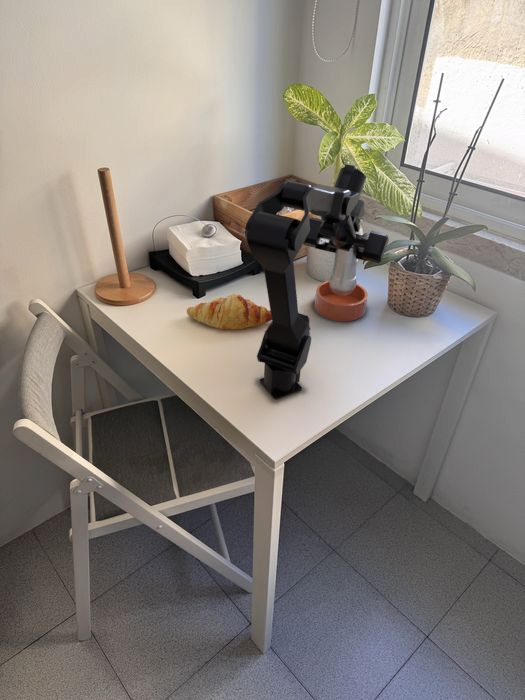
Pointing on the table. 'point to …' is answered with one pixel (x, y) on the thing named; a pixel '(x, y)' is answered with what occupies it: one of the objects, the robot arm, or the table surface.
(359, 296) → the bowl
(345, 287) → the plastic bottle
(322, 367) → the table surface
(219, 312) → the croissant
